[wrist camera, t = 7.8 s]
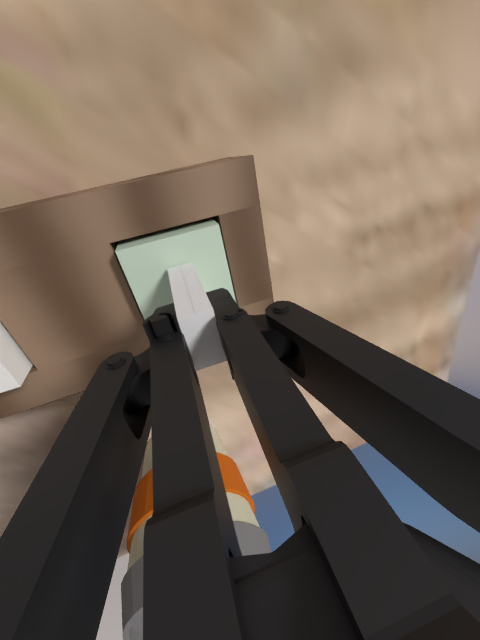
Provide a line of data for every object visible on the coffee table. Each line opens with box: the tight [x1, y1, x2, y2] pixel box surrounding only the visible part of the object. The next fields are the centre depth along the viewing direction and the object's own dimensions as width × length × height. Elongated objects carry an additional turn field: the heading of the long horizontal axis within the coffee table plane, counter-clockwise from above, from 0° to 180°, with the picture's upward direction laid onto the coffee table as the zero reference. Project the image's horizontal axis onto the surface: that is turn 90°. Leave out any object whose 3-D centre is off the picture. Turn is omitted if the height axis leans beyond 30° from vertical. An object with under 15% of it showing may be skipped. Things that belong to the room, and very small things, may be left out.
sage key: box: [115, 217, 236, 320], centre depth 20 cm, size 6×6×5 cm
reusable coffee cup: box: [121, 424, 271, 640], centre depth 28 cm, size 13×12×15 cm
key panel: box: [0, 155, 274, 418], centre depth 20 cm, size 26×12×6 cm, turn 101°
